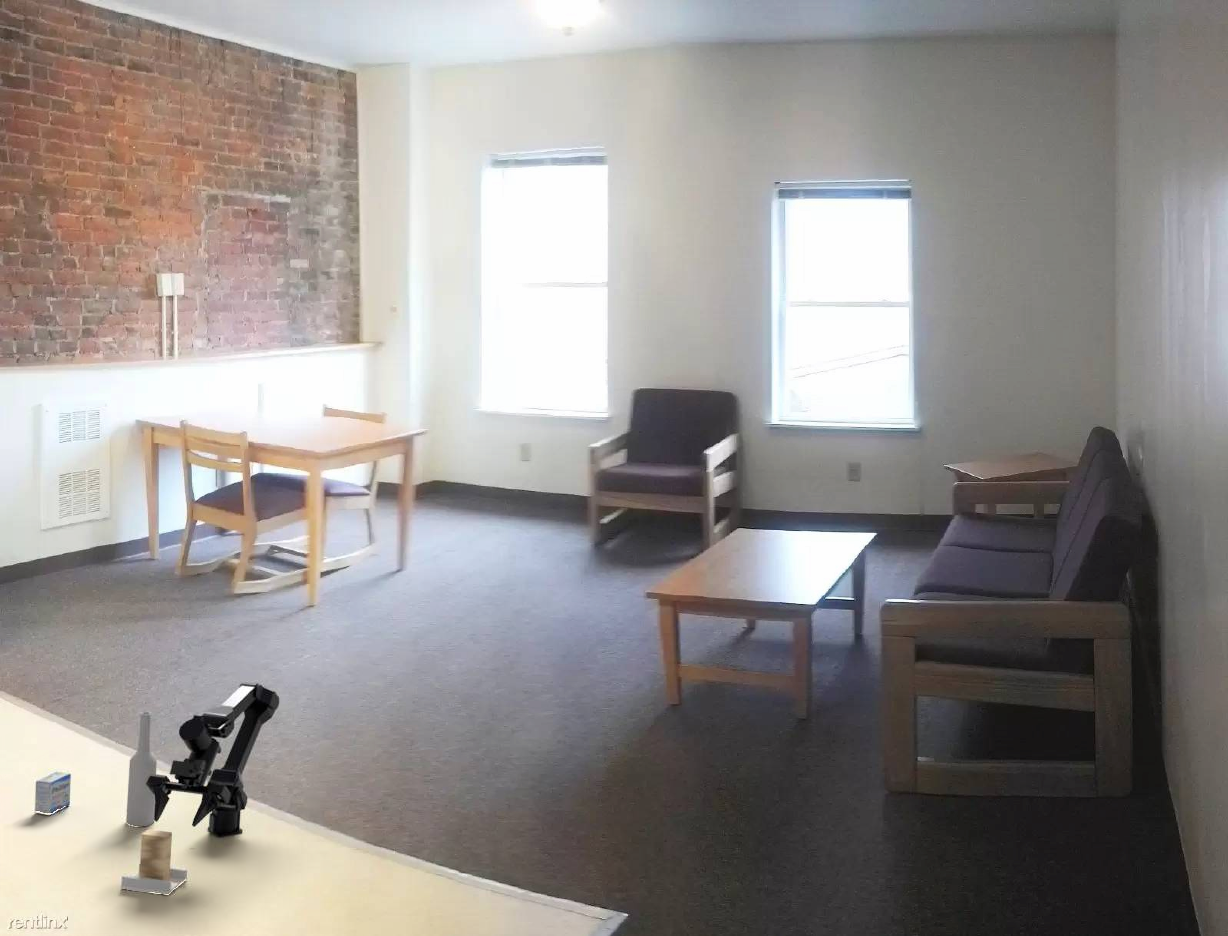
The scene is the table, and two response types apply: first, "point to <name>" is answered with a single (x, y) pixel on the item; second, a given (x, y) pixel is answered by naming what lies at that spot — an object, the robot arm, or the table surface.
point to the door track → (154, 882)
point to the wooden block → (155, 855)
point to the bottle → (141, 778)
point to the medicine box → (52, 792)
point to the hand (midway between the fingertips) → (174, 823)
